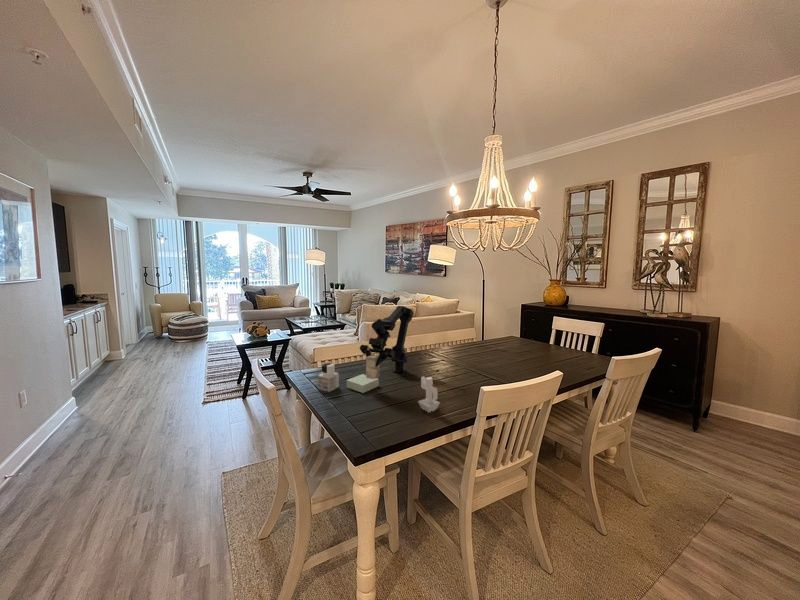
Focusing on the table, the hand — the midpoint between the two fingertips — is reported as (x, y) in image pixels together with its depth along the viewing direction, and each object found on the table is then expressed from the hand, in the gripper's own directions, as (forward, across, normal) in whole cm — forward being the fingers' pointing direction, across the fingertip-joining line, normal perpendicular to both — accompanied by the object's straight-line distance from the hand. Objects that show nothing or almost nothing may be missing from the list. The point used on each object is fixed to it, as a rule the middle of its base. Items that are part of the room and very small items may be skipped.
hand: (371, 365), depth 171 cm
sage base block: (+8, -7, +11) cm, 15 cm away
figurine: (+15, +34, +4) cm, 38 cm away
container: (+15, -22, +5) cm, 27 cm away
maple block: (+4, 0, +6) cm, 7 cm away
